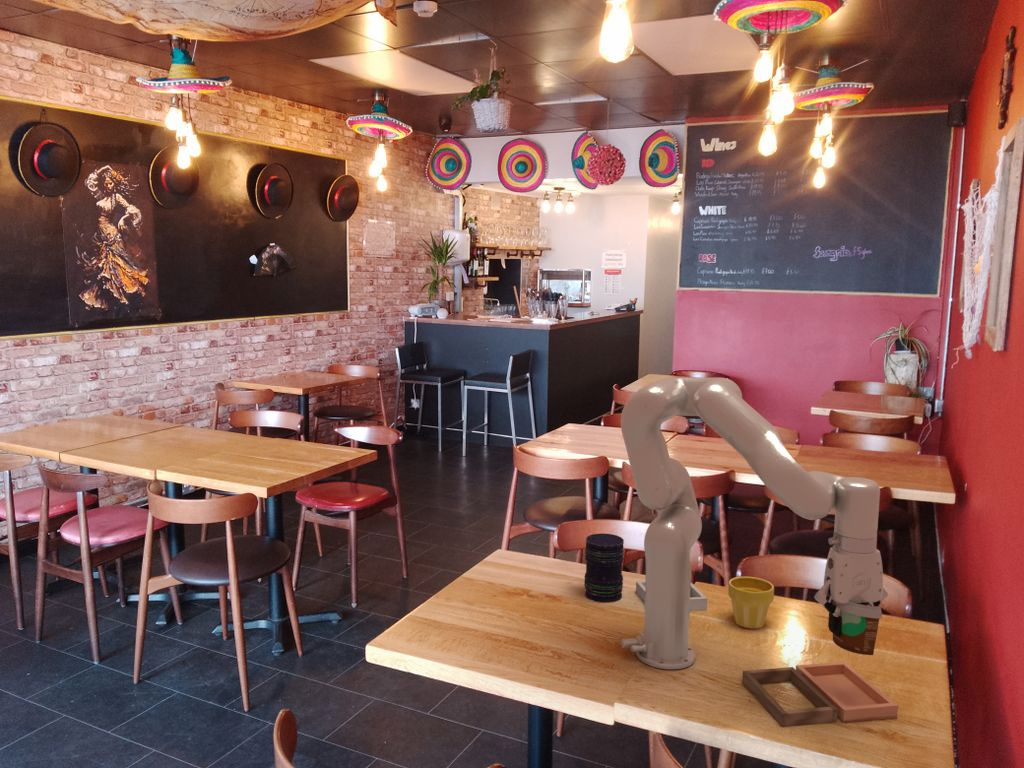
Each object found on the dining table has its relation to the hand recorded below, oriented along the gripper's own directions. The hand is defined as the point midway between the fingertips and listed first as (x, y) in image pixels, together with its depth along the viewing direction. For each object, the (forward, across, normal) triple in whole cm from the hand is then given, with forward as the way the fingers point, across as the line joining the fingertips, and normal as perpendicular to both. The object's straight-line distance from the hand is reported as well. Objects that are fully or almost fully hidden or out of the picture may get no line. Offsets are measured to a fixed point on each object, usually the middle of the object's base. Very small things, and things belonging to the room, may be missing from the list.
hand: (849, 631), depth 151 cm
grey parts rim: (+13, -17, +49) cm, 54 cm away
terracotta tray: (+14, 0, 0) cm, 14 cm away
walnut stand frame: (+13, -12, 0) cm, 18 cm away
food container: (+3, -1, 0) cm, 3 cm away
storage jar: (+13, -33, +55) cm, 66 cm away
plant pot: (+14, -3, +34) cm, 37 cm away
